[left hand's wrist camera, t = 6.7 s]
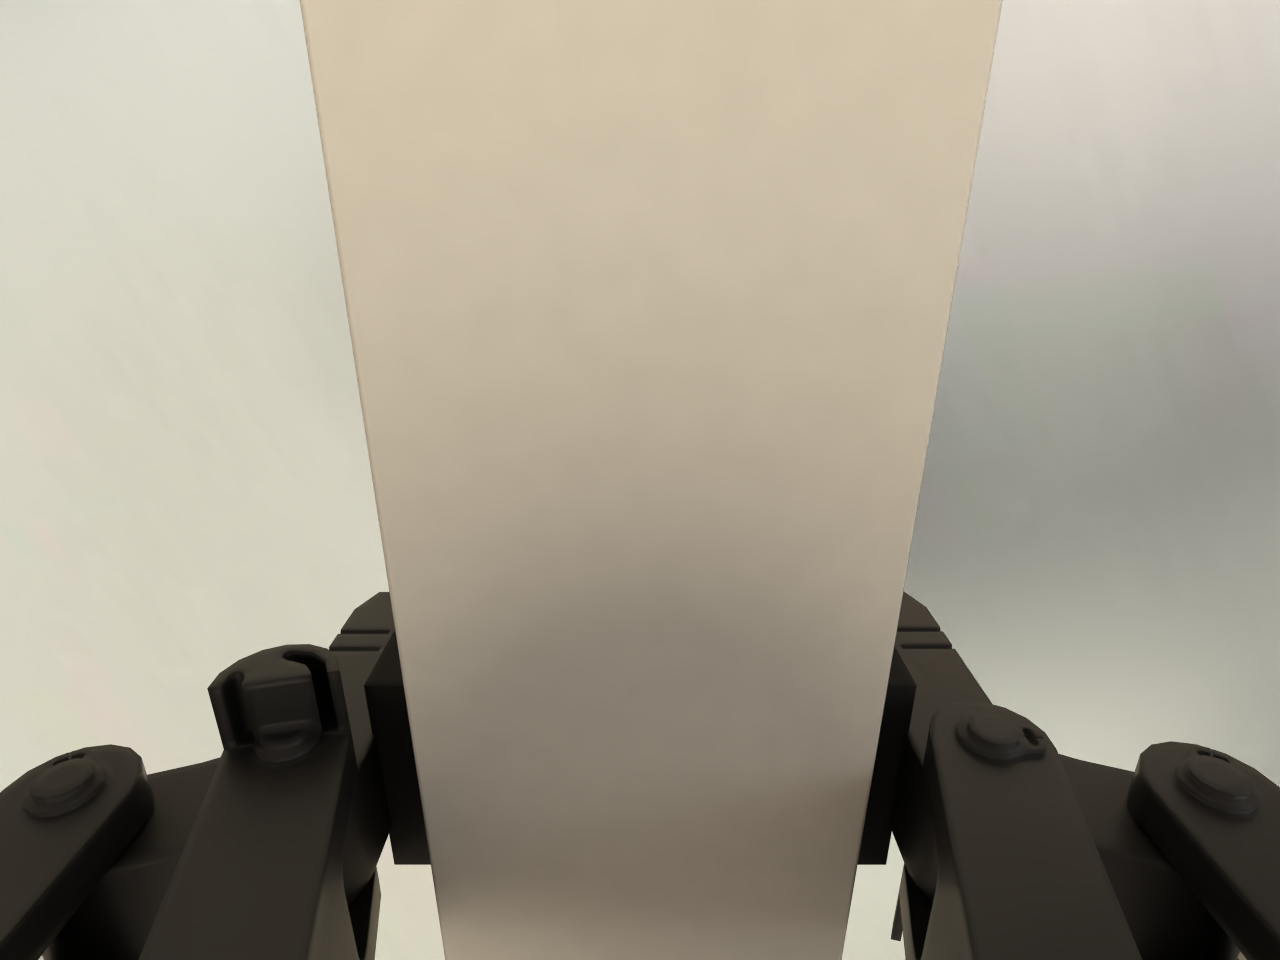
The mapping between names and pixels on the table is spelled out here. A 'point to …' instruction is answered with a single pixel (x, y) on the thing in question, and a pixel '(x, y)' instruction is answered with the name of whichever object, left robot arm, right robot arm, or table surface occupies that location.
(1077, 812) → the left robot arm
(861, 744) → the post
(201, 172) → the table surface
